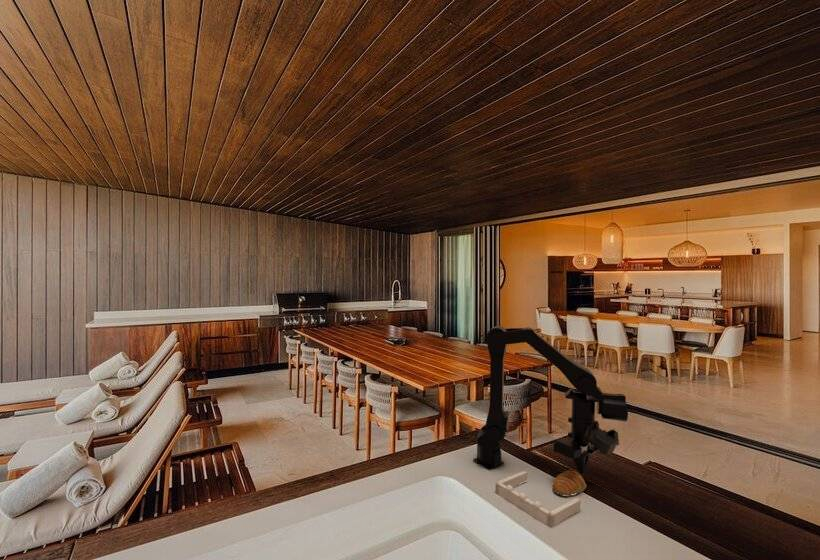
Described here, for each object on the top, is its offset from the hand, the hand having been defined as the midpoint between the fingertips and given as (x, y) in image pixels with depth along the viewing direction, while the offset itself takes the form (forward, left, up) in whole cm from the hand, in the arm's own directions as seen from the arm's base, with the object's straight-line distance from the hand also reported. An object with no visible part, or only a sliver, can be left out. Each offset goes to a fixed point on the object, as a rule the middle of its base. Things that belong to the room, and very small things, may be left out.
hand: (581, 473), depth 102 cm
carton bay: (0, -19, -2) cm, 19 cm away
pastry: (+1, -8, -2) cm, 8 cm away
